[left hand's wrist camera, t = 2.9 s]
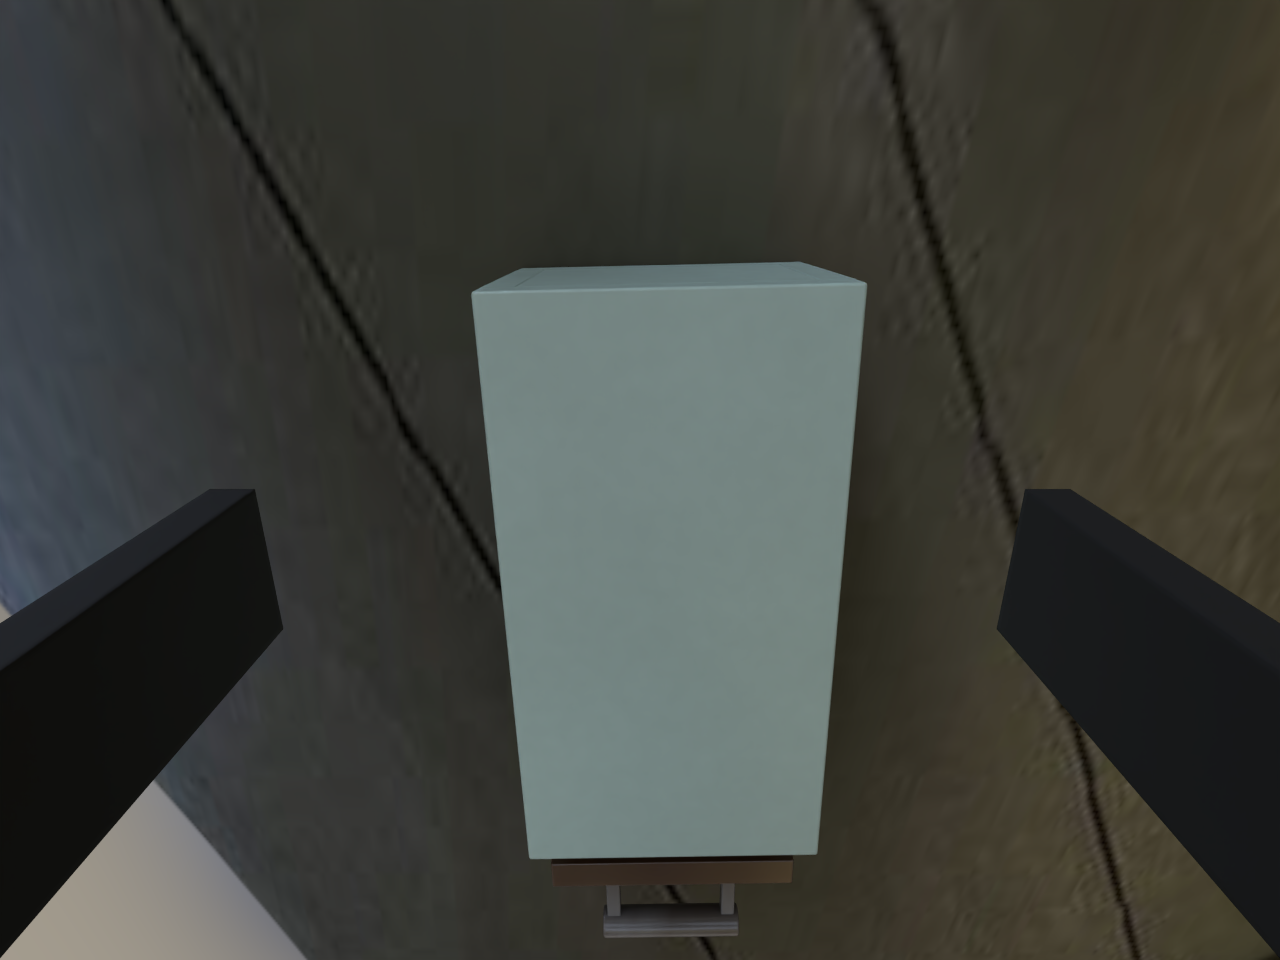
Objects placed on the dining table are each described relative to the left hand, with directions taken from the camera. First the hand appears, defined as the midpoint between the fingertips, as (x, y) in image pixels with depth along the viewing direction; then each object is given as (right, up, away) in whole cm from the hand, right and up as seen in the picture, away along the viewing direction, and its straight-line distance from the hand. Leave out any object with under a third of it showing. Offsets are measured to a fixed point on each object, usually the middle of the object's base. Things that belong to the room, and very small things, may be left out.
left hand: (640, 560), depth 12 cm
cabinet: (+1, 0, +18) cm, 18 cm away
